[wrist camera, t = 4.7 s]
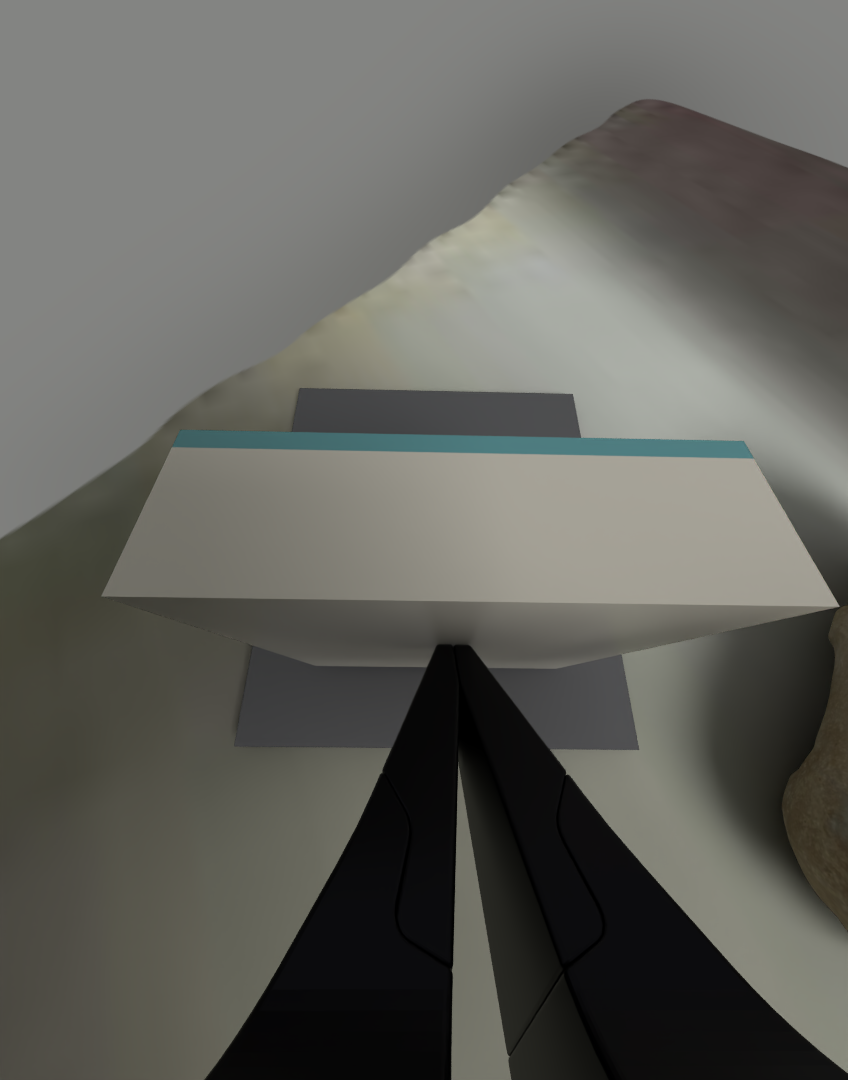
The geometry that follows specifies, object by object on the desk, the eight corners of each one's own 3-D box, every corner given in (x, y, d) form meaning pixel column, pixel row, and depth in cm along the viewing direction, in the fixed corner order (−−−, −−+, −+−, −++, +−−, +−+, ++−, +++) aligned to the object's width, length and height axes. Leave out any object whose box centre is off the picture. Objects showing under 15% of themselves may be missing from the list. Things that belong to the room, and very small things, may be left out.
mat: (631, 746, 13) (639, 749, 13) (241, 742, 13) (234, 746, 12) (569, 400, 19) (572, 394, 19) (302, 394, 19) (299, 388, 19)
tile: (555, 668, 13) (838, 606, 4) (315, 665, 13) (100, 596, 4) (544, 598, 15) (743, 441, 6) (326, 595, 15) (180, 429, 6)
